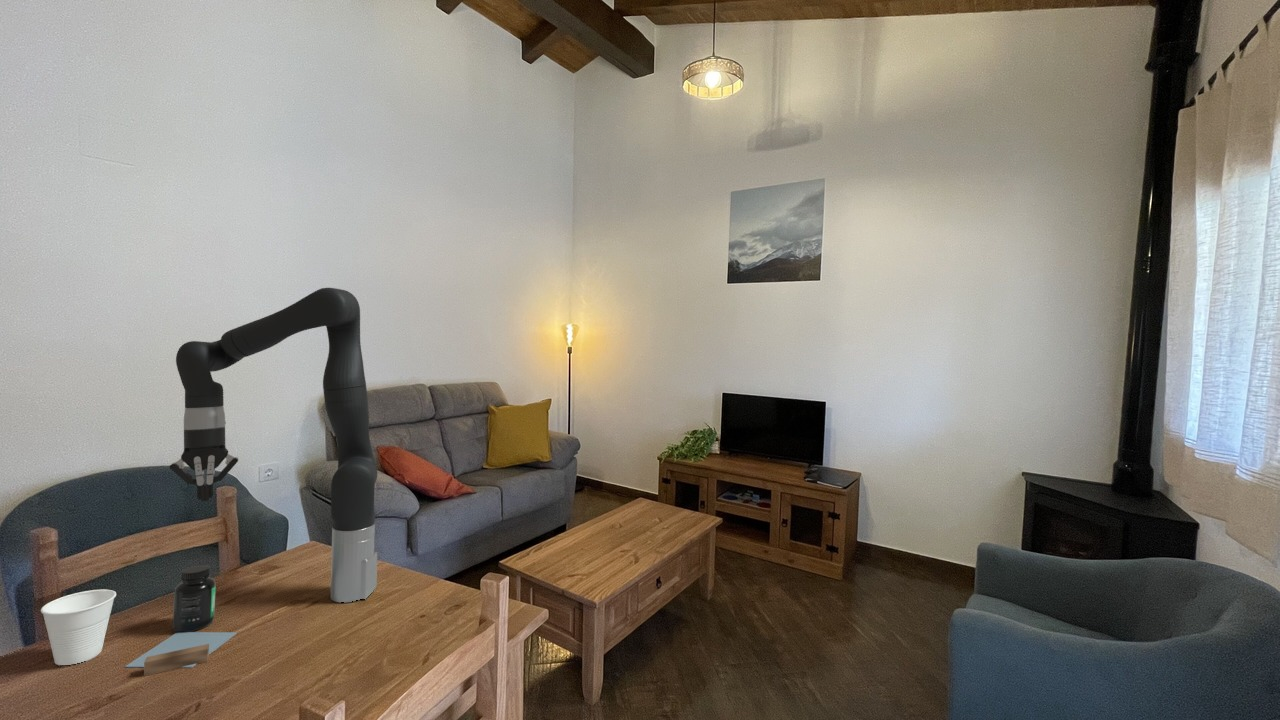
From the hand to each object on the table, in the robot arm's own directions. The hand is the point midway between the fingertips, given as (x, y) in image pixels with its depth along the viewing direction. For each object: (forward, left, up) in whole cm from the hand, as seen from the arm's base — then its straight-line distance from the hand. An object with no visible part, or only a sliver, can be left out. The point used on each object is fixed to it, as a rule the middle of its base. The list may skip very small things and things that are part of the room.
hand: (205, 500), depth 123 cm
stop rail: (-14, +25, -24) cm, 37 cm away
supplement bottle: (-6, +11, -24) cm, 27 cm away
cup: (+6, +23, -24) cm, 34 cm away
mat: (-11, +20, -24) cm, 33 cm away
